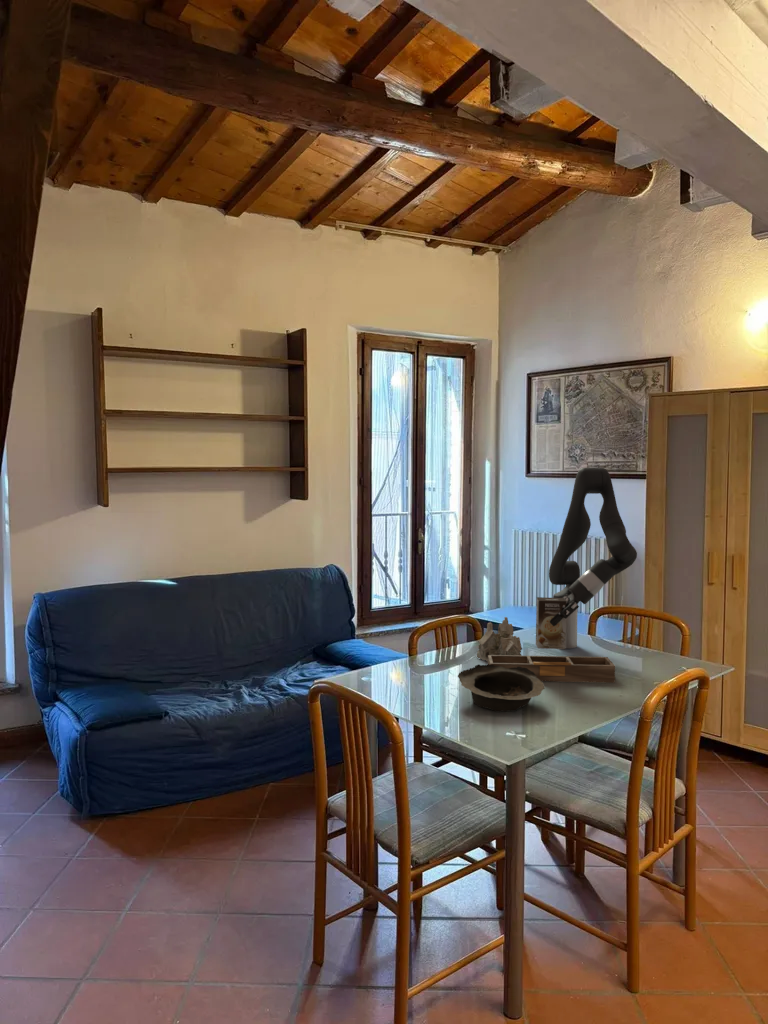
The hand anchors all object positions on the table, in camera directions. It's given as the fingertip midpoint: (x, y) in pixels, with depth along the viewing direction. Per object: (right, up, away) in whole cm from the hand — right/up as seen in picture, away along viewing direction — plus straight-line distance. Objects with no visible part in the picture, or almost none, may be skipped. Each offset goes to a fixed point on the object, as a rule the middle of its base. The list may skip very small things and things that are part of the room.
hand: (550, 621), depth 241 cm
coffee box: (0, -9, 0) cm, 9 cm away
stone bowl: (-20, -21, -26) cm, 39 cm away
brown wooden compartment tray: (0, -18, +1) cm, 18 cm away
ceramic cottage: (-13, -17, +23) cm, 32 cm away
